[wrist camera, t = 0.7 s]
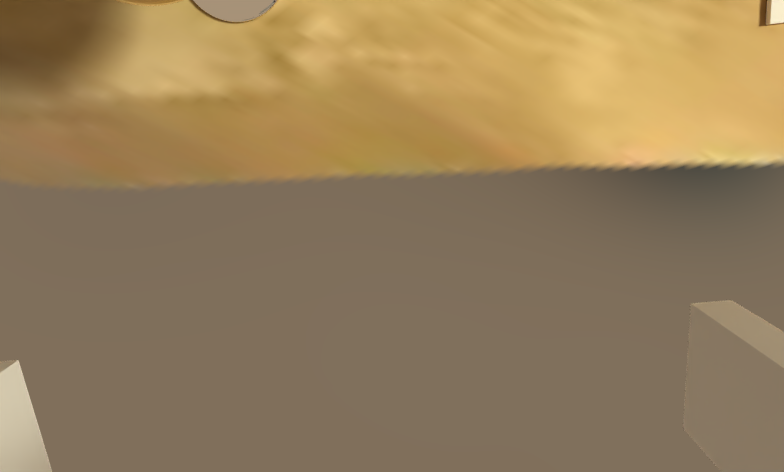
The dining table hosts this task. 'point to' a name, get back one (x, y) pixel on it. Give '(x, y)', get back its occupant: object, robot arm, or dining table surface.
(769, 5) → the order pad
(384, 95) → the dining table surface
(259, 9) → the wineglass
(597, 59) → the dining table surface
